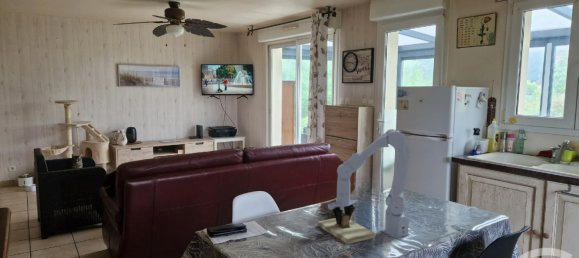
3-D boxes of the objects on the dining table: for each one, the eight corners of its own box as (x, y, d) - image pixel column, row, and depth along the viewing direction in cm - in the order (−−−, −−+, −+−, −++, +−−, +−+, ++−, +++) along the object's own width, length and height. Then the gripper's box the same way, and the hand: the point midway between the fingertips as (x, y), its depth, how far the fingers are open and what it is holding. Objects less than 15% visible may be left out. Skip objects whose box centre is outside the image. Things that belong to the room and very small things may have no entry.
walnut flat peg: (349, 231, 160) (349, 215, 160) (343, 232, 159) (343, 216, 158) (342, 227, 165) (342, 212, 164) (336, 228, 163) (336, 213, 163)
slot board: (375, 237, 154) (375, 232, 154) (347, 244, 147) (348, 239, 147) (343, 220, 173) (343, 216, 173) (317, 225, 167) (317, 221, 166)
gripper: (351, 188, 167) (350, 217, 169) (324, 192, 160) (323, 222, 162) (361, 192, 161) (360, 222, 162) (333, 196, 154) (333, 228, 156)
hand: (342, 223), depth 162 cm, fingers open, 4 cm apart
